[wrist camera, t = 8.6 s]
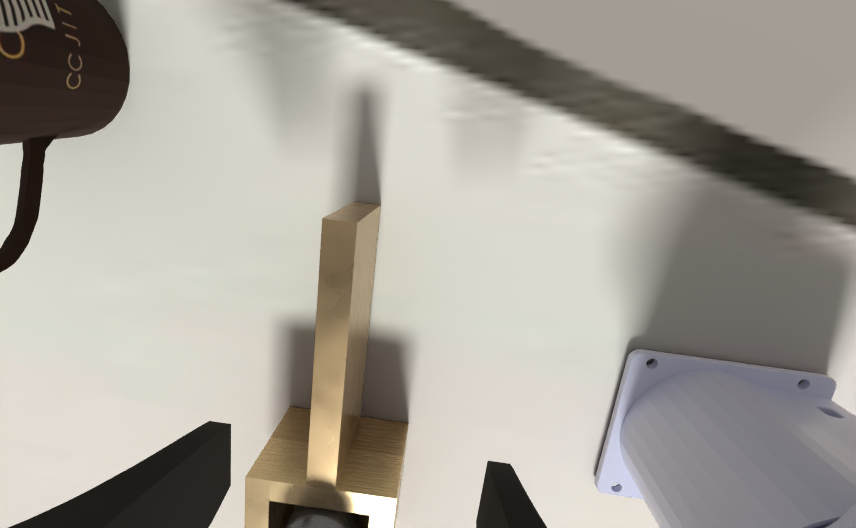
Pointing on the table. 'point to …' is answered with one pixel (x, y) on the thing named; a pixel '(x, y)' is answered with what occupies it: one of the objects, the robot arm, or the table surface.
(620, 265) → the table surface
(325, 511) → the pin
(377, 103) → the table surface
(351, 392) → the tan wooden bar
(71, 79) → the coffee mug
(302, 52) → the table surface
